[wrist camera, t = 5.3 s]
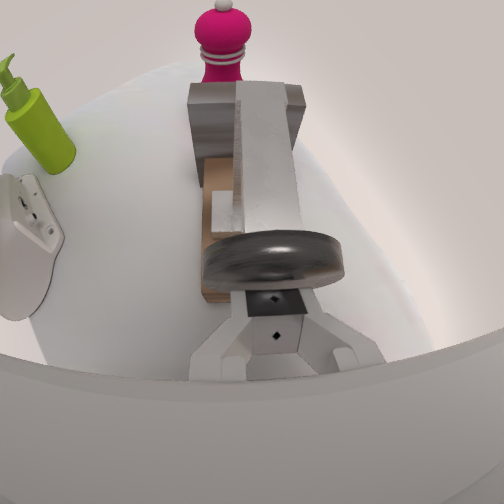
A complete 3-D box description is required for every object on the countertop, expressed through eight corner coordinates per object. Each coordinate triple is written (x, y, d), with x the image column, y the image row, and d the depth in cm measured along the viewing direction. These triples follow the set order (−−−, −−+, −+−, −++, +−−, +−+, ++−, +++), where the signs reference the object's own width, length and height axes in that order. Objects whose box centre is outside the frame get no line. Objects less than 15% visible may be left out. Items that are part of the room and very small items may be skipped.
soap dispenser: (75, 134, 36) (25, 41, 17) (76, 164, 34) (13, 65, 15) (46, 149, 35) (-10, 66, 16) (45, 180, 33) (-25, 94, 14)
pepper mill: (237, 102, 39) (244, -14, 20) (255, 133, 37) (273, 5, 18) (192, 113, 38) (180, -6, 19) (206, 147, 36) (196, 13, 17)
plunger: (296, 316, 27) (426, 259, 8) (215, 319, 26) (175, 266, 7) (287, 212, 30) (353, 55, 11) (214, 213, 30) (200, 43, 11)
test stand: (290, 299, 31) (335, 267, 17) (197, 302, 30) (171, 271, 16) (278, 167, 36) (301, 85, 22) (201, 167, 35) (190, 83, 22)
